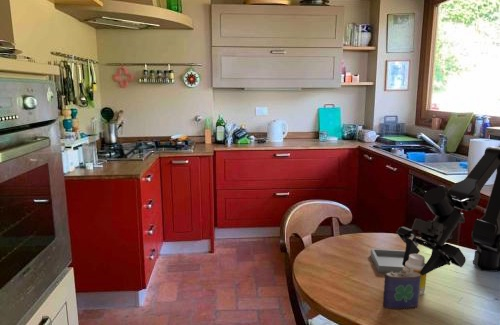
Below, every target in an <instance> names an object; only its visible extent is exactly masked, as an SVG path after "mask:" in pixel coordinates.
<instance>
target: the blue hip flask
mask: <svg viewBox="0 0 500 325" xmlns="http://www.w3.org/2000/svg"><path fill="white" fill-rule="evenodd" d="M402 268H403V270H402V271H400V272H399V273H397V272H395V273H393V272H390V273H386V274H384V286H383V288H384V289H383V301H382V307H383V309H385V310H391V311H402V310H404V311H405V310H415V309H417V308H418V306H419V297H420V295H419V290H420V279H421V275H420V274H419V273H416V272H412V273H407V269H406V268H404V267H402Z"/></svg>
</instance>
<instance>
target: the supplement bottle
mask: <svg viewBox="0 0 500 325" xmlns="http://www.w3.org/2000/svg"><path fill="white" fill-rule="evenodd" d="M425 258H426V257H425V256H423V255H422V254H419V253H418V254H410V255H409V260H407V261H406V262H405V268H406V269H407V273H412V272H416V273H419V274H420V272H421V270H422V268H423V267H424V265H425V264H426V263H425V262H426V261H425ZM420 275H421V274H420ZM426 280H427V274H425V275H421V279H420V290H419V296H421V295H424V294H425V290H426V284H427V283H426Z"/></svg>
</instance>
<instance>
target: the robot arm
mask: <svg viewBox="0 0 500 325" xmlns="http://www.w3.org/2000/svg"><path fill="white" fill-rule="evenodd" d="M496 170H497V171H496ZM495 172H496V175H495V177H494V178H495V179H494V181H493V185H492V188H491V191H490V195H489V199H488V202H487V204H486V209H485V213H484V215H483V216H482V217H480V218H479V219H478V218H477V219H476V220H474V223H473V228H472V230H471V241H472V242H471V243H472V245H473V246H476V247H477V248H476V250H475V251H474V255H473V256H474V257H473V260H472V263H473V264H474V265H475V266H476V267H477V268H479V269H480V271H483V272H484V271H486V272H500V145H498V146H488V147H486V148H485V150H484V154H483V155H482V156H481V158H479V160H478V162H477V163H476V164H475V165H474V167H473V168H472V170H470V172H469V173H468V174H467V176H466V177H465V178H464V179H462V180H461V181H457V182H456V183H455V184H454V185H452V186H451V187H450V188H449V189H448V188H447V187H446V186H445V185H441V184H439V185H438V186H437V187H433V188H430V189H429V190H428V191H426V192H425V193H424V195H423V201H424V202H425V204H426V205H427V207H428V208H429V210H430V212H432V214H433V215H435V217H434V218H433V220H432V219H428V220H427V221H426V220H422V219H420V218H417V217H416V218H415V219H414V221H413V223H412V227H411V228H408V227H406V226H400V227H398V229H397V231H396V232H395V233H396V234H397V235H398V237H399V238H400V239H401V240H402V241H403V242H404V244H405V255H404V259H403V263H402V265H403V266H405V262H406V261H407V260H409V255H410V254H419V253H420V249H419V248H418V247H419V245H420V246H422V247H425V248H427V249H429V250H431V254H430V257H429V259H428V260H427V261H426V263H425V265H424V267H423V268H422V270H421V272H420V274H421V275H425V274H426V275H427V274H429V273H431V272H432V271H435V270H436V269H438V268H441V267H444V266H450V265H455V266H456V267H459V268H463V266H464V265H465V264H466V262H467V261H466V260H467V259H466V256H465V255H464V253H463V252H462V250H461V249H460V247H457V246H455V245H452V244H450V243H446V242H447V241H448V239H449V240H452V239H453V238H454V237H453V235H452V233H453V232H454V231H455V229H456V228H457V227H458V225H459V224H460V223H461V224H465V219H466V218H465V214H464V213H463V212H461V211H460V210H463V211H466V212H472V211H473V210H474V209H475V208H477V206H478V204H479V202H480V200H481V190H482V189H483V188H484V186H485V185H486V184H487V182H488V181H489V180H490V178H491V177H492V176H493V174H494V173H495ZM414 230H416V231H418V232H417V234H418V235H417V234H416V232H415V231H414Z"/></svg>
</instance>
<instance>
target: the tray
mask: <svg viewBox="0 0 500 325" xmlns="http://www.w3.org/2000/svg"><path fill="white" fill-rule="evenodd" d="M405 250H406V249H405ZM405 250H404V249H384V248H370V258H371V260H372V262H373V264H374V266H375V269H376V271H377V273H378V274H381V275H383V274H384V275H385V274H386V273H390V272H393V273H395V272H397V273H399V272H400V271H402V270H403V268H402V267H404V268H405V266H403V265H402V263H403V259H404V255H405Z"/></svg>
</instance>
